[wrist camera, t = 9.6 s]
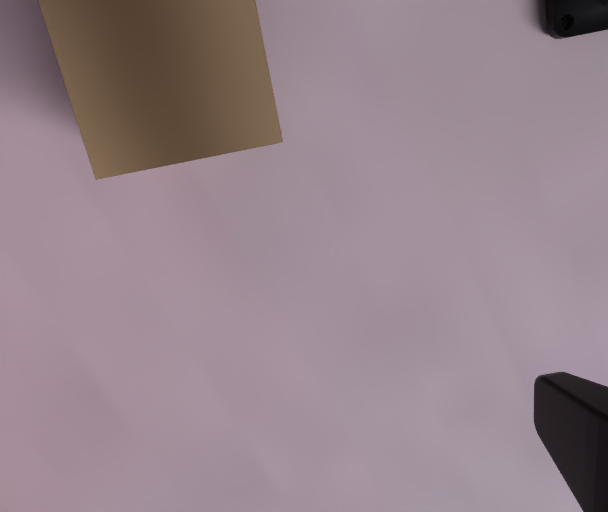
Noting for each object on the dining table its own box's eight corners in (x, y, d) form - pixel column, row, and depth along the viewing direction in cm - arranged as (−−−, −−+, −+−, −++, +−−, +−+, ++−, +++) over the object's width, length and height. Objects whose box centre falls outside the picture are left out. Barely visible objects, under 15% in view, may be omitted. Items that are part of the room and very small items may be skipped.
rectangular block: (243, -20, 16) (240, -73, 11) (274, 132, 18) (282, 142, 13) (93, 8, 16) (26, -34, 11) (137, 159, 17) (95, 179, 13)
